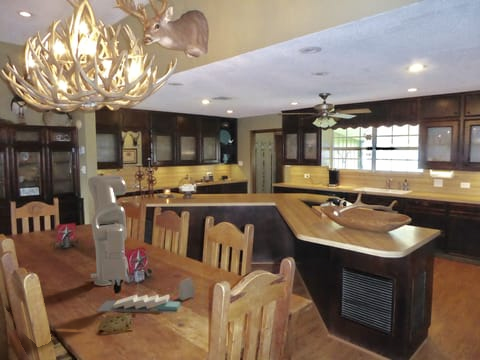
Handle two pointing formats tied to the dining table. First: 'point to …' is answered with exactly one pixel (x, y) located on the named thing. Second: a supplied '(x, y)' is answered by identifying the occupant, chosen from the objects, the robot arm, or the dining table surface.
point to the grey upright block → (186, 289)
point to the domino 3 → (148, 301)
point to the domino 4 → (159, 301)
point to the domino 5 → (168, 306)
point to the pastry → (116, 323)
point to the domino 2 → (137, 301)
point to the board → (130, 308)
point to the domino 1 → (125, 301)
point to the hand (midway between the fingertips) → (117, 292)
